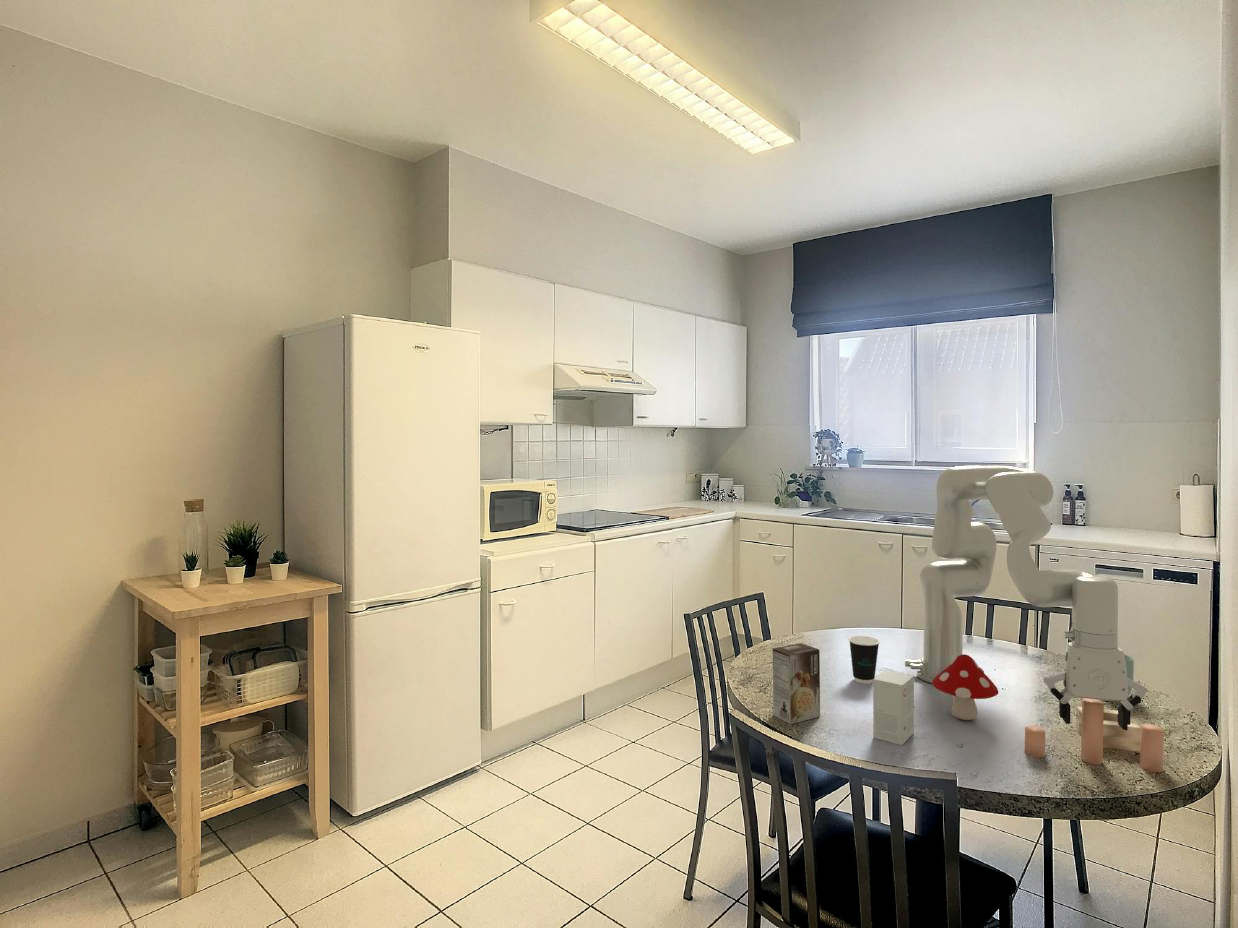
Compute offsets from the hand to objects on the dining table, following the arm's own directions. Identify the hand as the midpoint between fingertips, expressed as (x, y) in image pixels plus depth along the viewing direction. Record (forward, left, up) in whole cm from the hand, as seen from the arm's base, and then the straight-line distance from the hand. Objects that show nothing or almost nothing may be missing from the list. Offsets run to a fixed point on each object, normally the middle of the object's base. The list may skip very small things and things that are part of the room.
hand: (1094, 724), depth 138 cm
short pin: (-10, 0, -8) cm, 13 cm away
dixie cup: (-43, +34, -8) cm, 56 cm away
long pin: (0, 0, -8) cm, 8 cm away
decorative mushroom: (-21, +15, -8) cm, 27 cm away
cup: (+16, +42, -8) cm, 46 cm away
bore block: (+6, +12, -8) cm, 16 cm away
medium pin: (+10, 0, -8) cm, 12 cm away
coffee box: (-58, +4, -8) cm, 59 cm away
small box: (-37, 0, -8) cm, 38 cm away
